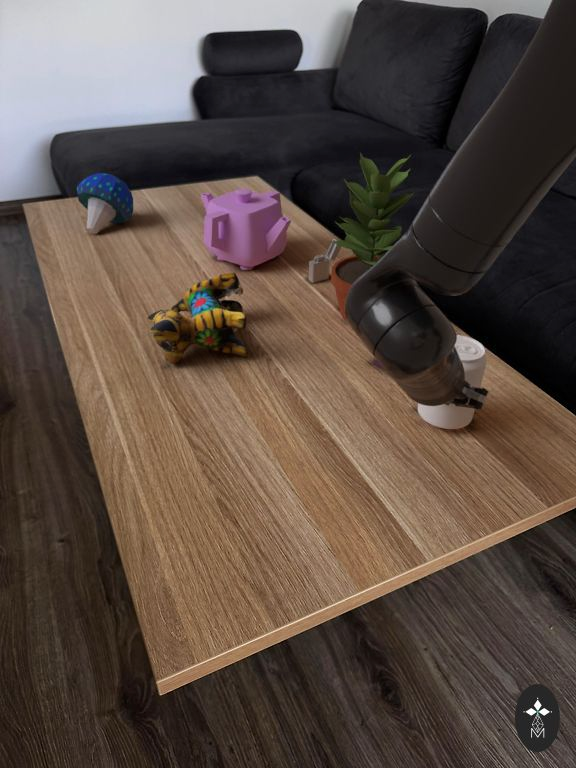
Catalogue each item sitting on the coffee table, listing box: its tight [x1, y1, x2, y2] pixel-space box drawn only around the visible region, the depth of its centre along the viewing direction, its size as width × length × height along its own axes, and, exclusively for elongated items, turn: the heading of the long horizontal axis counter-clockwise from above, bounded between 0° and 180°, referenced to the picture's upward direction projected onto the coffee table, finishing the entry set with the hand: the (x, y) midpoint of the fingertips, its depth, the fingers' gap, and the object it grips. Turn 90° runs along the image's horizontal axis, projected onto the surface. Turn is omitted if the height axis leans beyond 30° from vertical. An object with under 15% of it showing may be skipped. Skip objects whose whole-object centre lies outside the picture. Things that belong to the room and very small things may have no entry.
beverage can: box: [417, 334, 488, 430], centre depth 86 cm, size 8×8×12 cm
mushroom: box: [76, 172, 134, 235], centre depth 144 cm, size 14×14×15 cm
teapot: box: [200, 188, 292, 271], centre depth 129 cm, size 19×18×15 cm
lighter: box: [308, 238, 342, 284], centre depth 123 cm, size 7×2×8 cm, turn 121°
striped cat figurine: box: [146, 271, 248, 365], centre depth 102 cm, size 20×12×18 cm
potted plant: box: [329, 152, 416, 322], centre depth 104 cm, size 15×15×30 cm
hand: (446, 397), depth 83 cm, fingers closed
